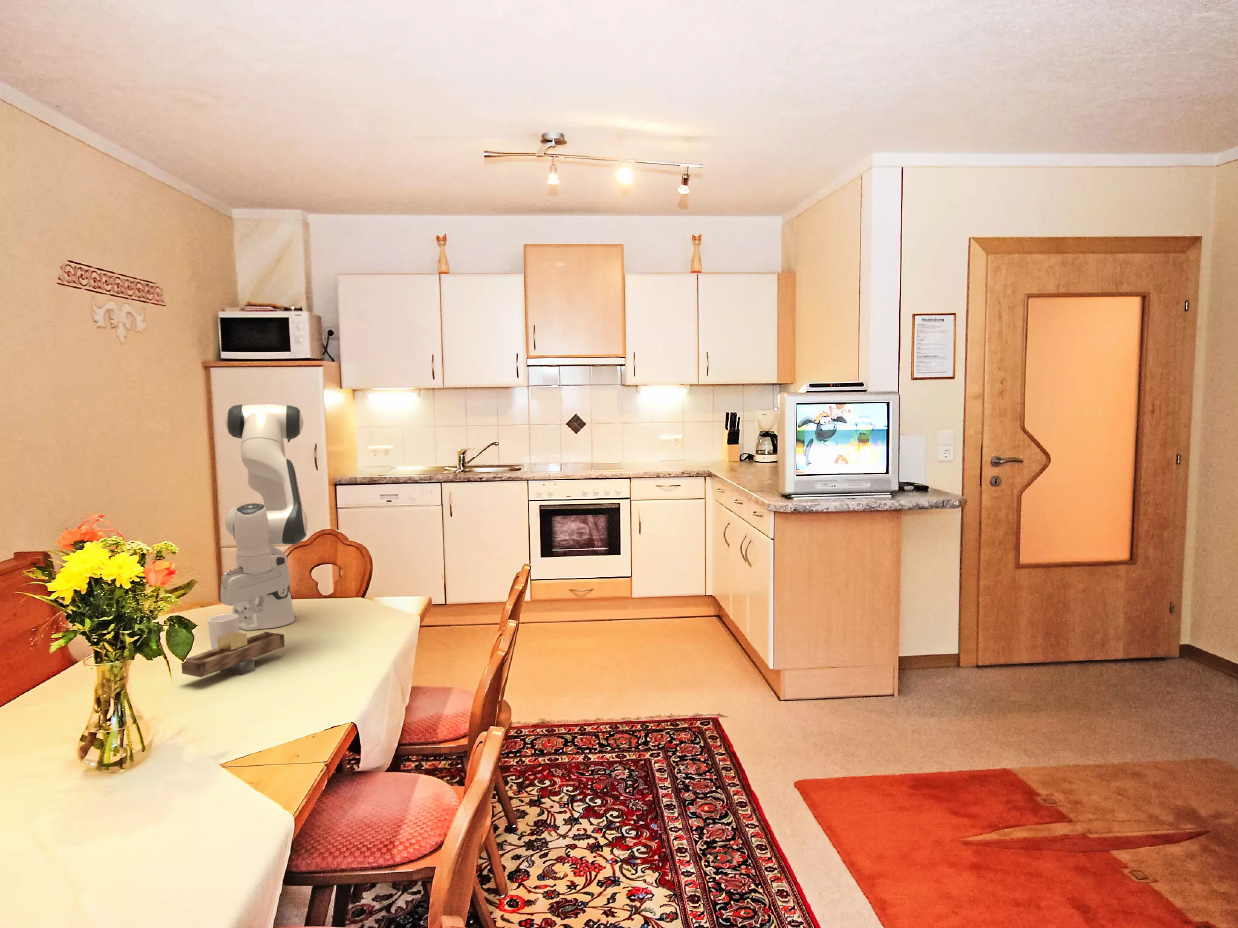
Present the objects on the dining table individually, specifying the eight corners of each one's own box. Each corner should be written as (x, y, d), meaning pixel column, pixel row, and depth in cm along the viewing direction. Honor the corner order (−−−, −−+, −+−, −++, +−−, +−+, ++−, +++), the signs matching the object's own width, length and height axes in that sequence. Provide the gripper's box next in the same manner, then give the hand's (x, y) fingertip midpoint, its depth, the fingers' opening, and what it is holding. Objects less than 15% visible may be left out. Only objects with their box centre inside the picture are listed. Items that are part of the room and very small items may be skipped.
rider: (231, 658, 201) (230, 638, 201) (218, 656, 203) (217, 636, 203) (247, 652, 206) (246, 633, 205) (234, 650, 208) (233, 631, 207)
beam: (204, 689, 192) (202, 663, 191) (180, 684, 196) (178, 659, 195) (287, 657, 216) (286, 634, 215) (264, 653, 219) (263, 630, 219)
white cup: (245, 647, 225) (244, 613, 224) (229, 656, 217) (227, 621, 216) (220, 646, 226) (218, 613, 225) (203, 655, 218) (201, 621, 217)
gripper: (229, 573, 199) (233, 625, 201) (292, 556, 218) (295, 602, 220) (212, 571, 202) (216, 621, 204) (275, 554, 221) (278, 600, 222)
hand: (257, 611), depth 212 cm, fingers closed
